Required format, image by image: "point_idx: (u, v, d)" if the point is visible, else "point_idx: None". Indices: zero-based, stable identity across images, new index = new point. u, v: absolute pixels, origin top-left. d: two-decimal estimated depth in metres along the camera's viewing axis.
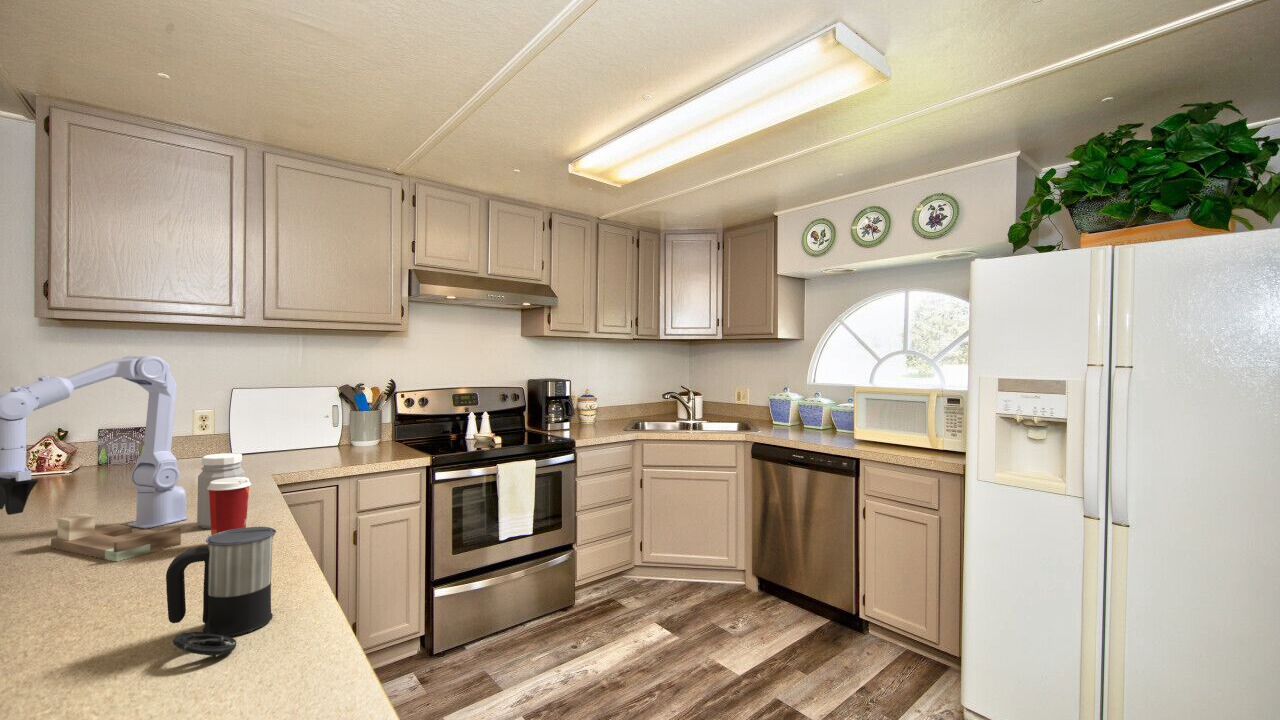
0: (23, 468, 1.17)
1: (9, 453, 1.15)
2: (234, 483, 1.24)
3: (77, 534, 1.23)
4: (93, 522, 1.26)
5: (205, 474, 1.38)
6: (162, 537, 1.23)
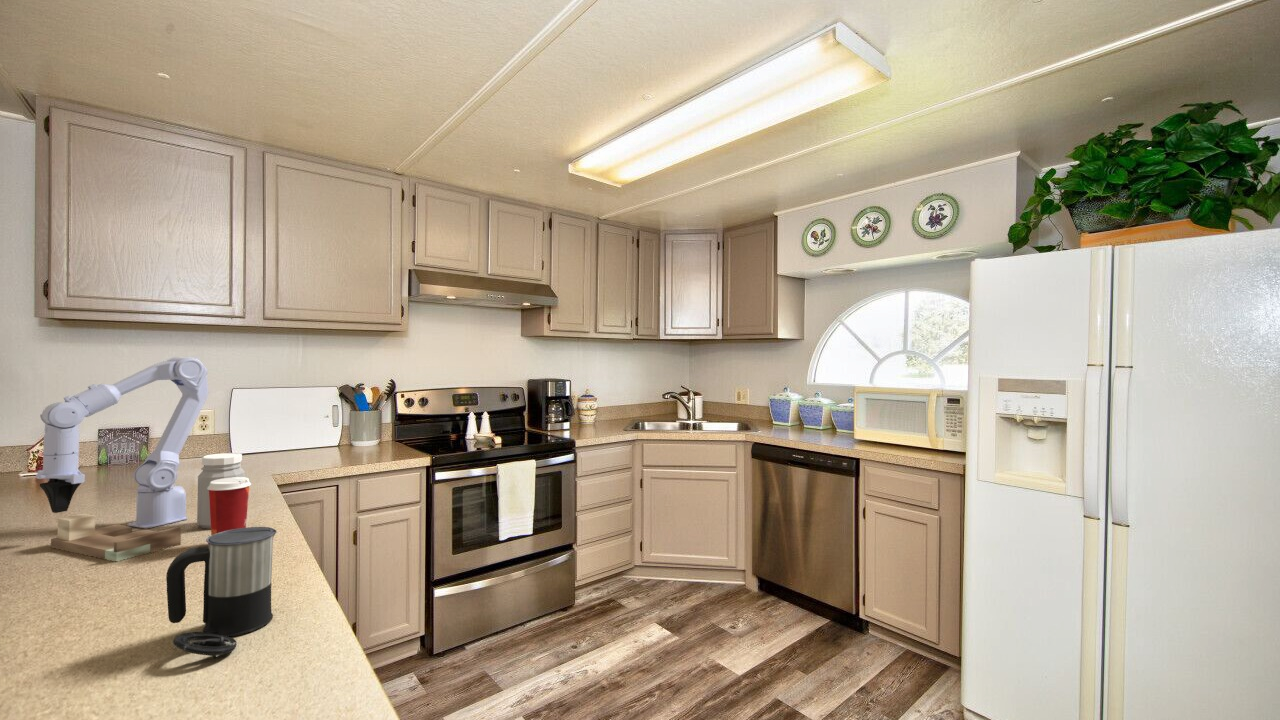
0: (76, 472, 1.28)
1: (65, 458, 1.25)
2: (234, 483, 1.24)
3: (77, 534, 1.23)
4: (93, 522, 1.26)
5: (205, 474, 1.38)
6: (162, 537, 1.23)
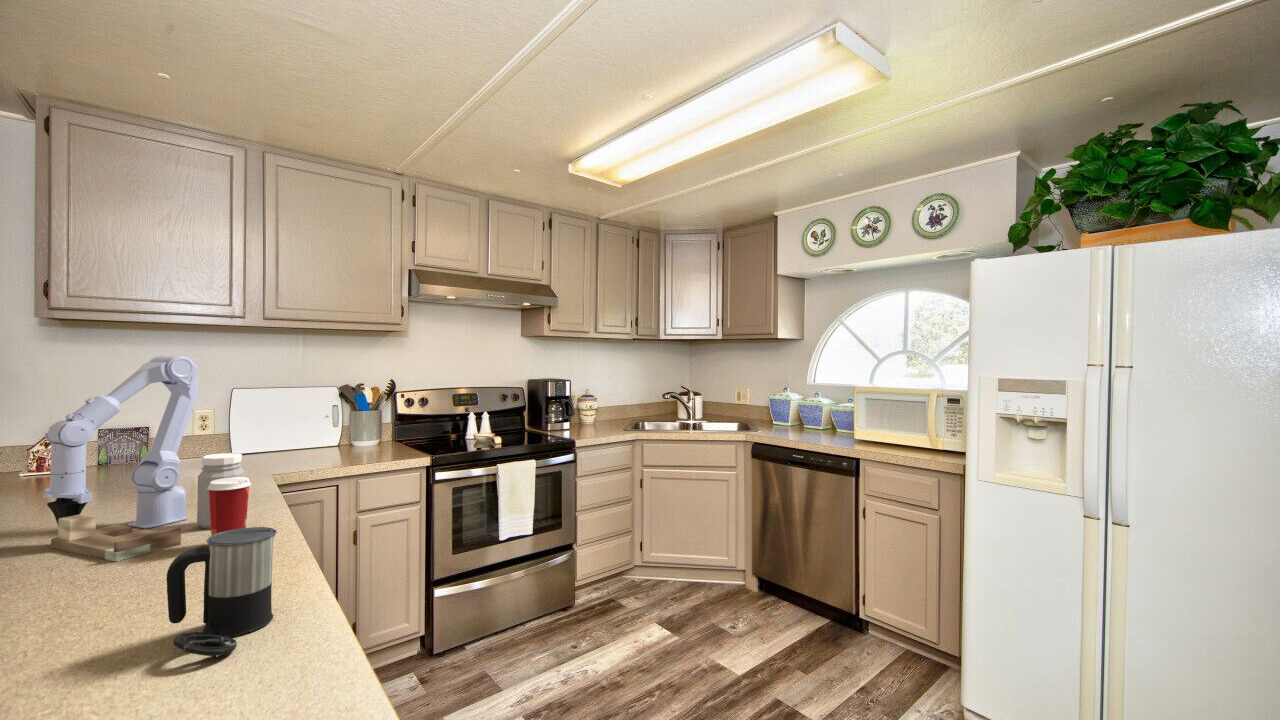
0: (84, 490, 1.26)
1: (72, 477, 1.24)
2: (234, 483, 1.24)
3: (77, 534, 1.23)
4: (94, 522, 1.25)
5: (205, 474, 1.38)
6: (162, 537, 1.23)
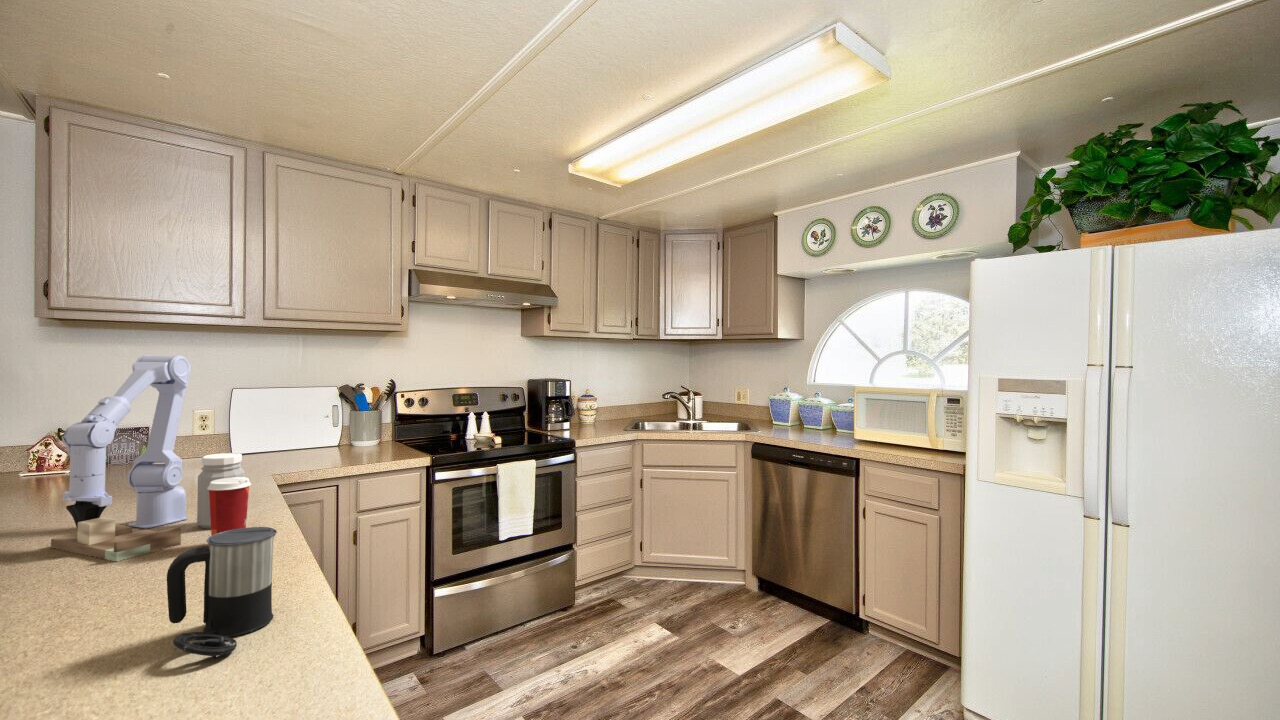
0: (103, 493, 1.24)
1: (91, 480, 1.22)
2: (234, 483, 1.24)
3: (97, 538, 1.20)
4: (113, 526, 1.23)
5: (205, 474, 1.38)
6: (162, 537, 1.23)
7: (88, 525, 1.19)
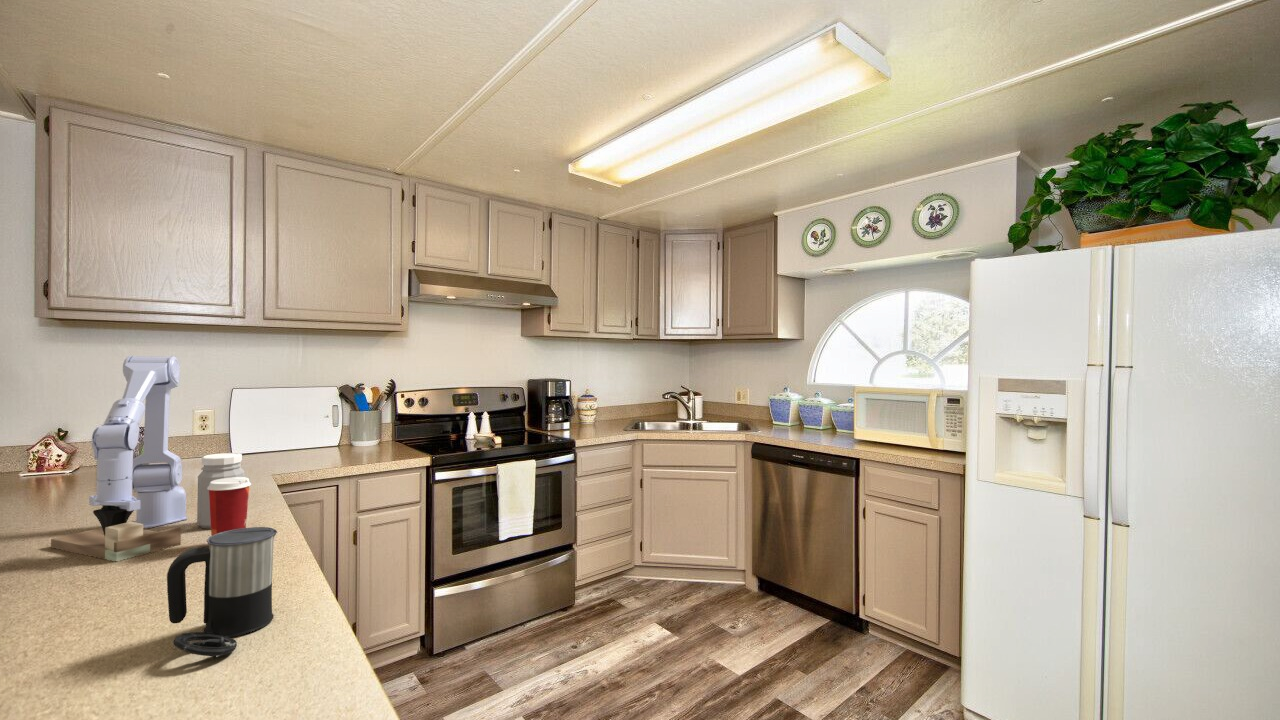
0: (130, 497, 1.21)
1: (119, 483, 1.18)
2: (234, 483, 1.24)
3: None
4: (141, 531, 1.20)
5: (205, 474, 1.38)
6: (162, 537, 1.23)
7: (116, 530, 1.16)
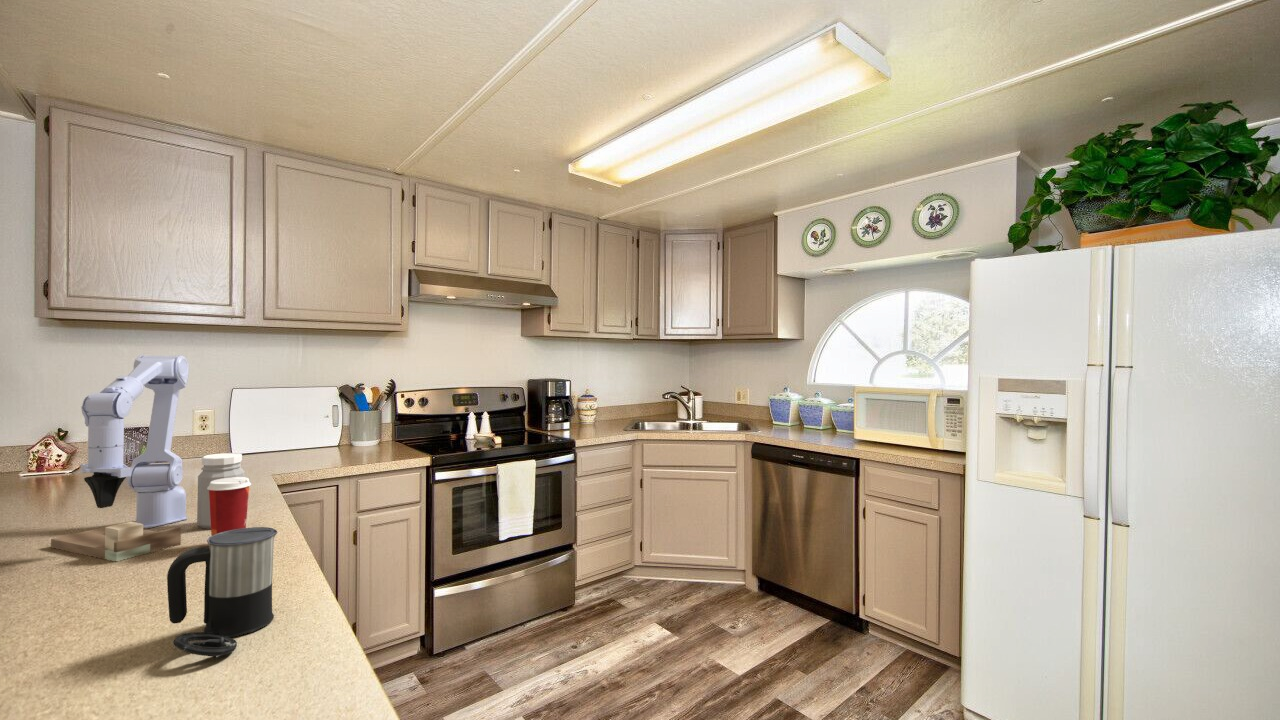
0: (122, 465, 1.22)
1: (110, 451, 1.20)
2: (234, 483, 1.24)
3: None
4: (141, 531, 1.20)
5: (205, 474, 1.38)
6: (162, 537, 1.23)
7: (116, 530, 1.16)
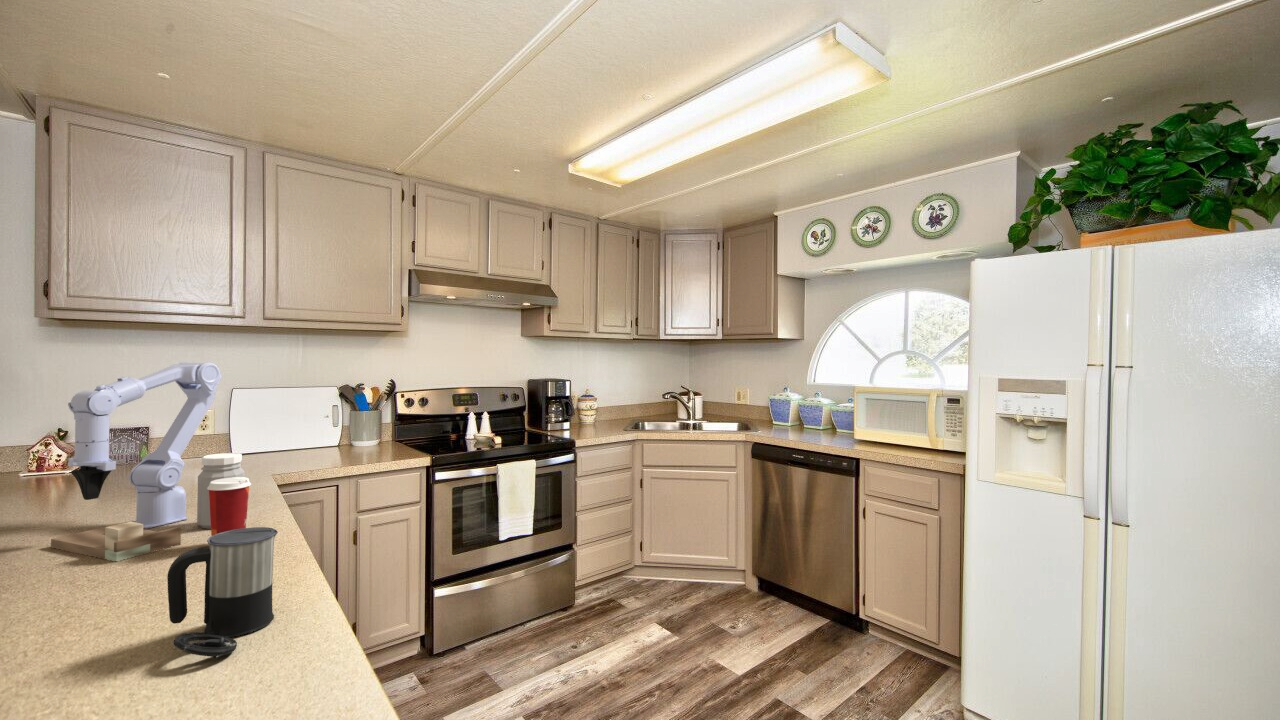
0: (107, 459, 1.29)
1: (96, 445, 1.26)
2: (234, 483, 1.24)
3: None
4: (141, 531, 1.20)
5: (205, 474, 1.38)
6: (162, 537, 1.23)
7: (116, 530, 1.16)
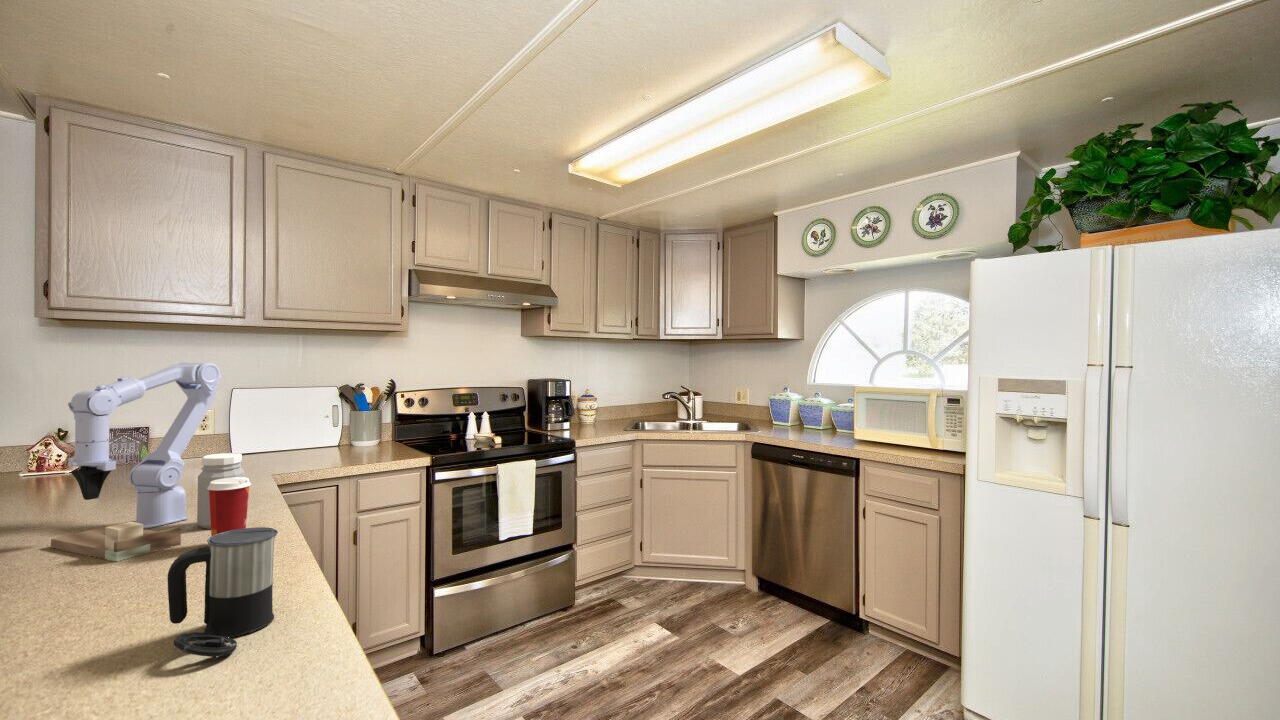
0: (107, 459, 1.29)
1: (96, 445, 1.26)
2: (234, 483, 1.24)
3: None
4: (141, 531, 1.20)
5: (205, 474, 1.38)
6: (162, 537, 1.23)
7: (116, 530, 1.16)
